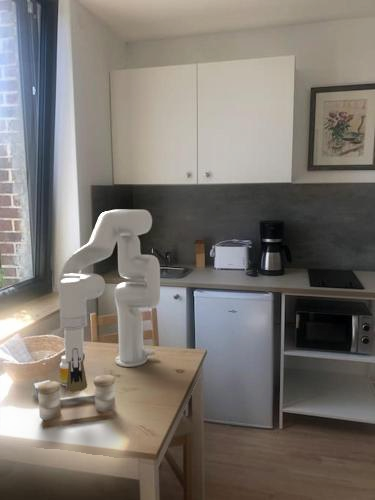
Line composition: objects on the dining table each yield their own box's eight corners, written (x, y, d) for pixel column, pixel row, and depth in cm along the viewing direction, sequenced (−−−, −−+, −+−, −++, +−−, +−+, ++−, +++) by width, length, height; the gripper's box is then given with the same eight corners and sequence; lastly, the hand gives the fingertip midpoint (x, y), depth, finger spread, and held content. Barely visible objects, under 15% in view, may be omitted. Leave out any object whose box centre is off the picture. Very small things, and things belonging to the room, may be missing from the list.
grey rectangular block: (49, 391, 145) (49, 380, 144) (52, 396, 141) (51, 384, 141) (34, 394, 142) (33, 383, 142) (36, 399, 139) (36, 388, 138)
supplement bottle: (72, 387, 147) (70, 360, 146) (57, 385, 148) (56, 359, 147) (79, 380, 153) (77, 354, 151) (65, 378, 154) (63, 353, 152)
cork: (74, 381, 131) (72, 346, 130) (91, 384, 129) (89, 349, 128) (62, 389, 126) (60, 354, 124) (79, 393, 124) (78, 356, 122)
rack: (113, 401, 137) (112, 370, 135) (117, 417, 127) (116, 384, 126) (40, 411, 131) (38, 379, 130) (38, 429, 122) (36, 394, 120)
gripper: (61, 313, 132) (63, 370, 134) (59, 330, 116) (63, 394, 118) (86, 311, 133) (88, 367, 136) (88, 328, 118) (90, 391, 120)
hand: (76, 379), depth 127 cm, fingers closed on cork, 3 cm apart
